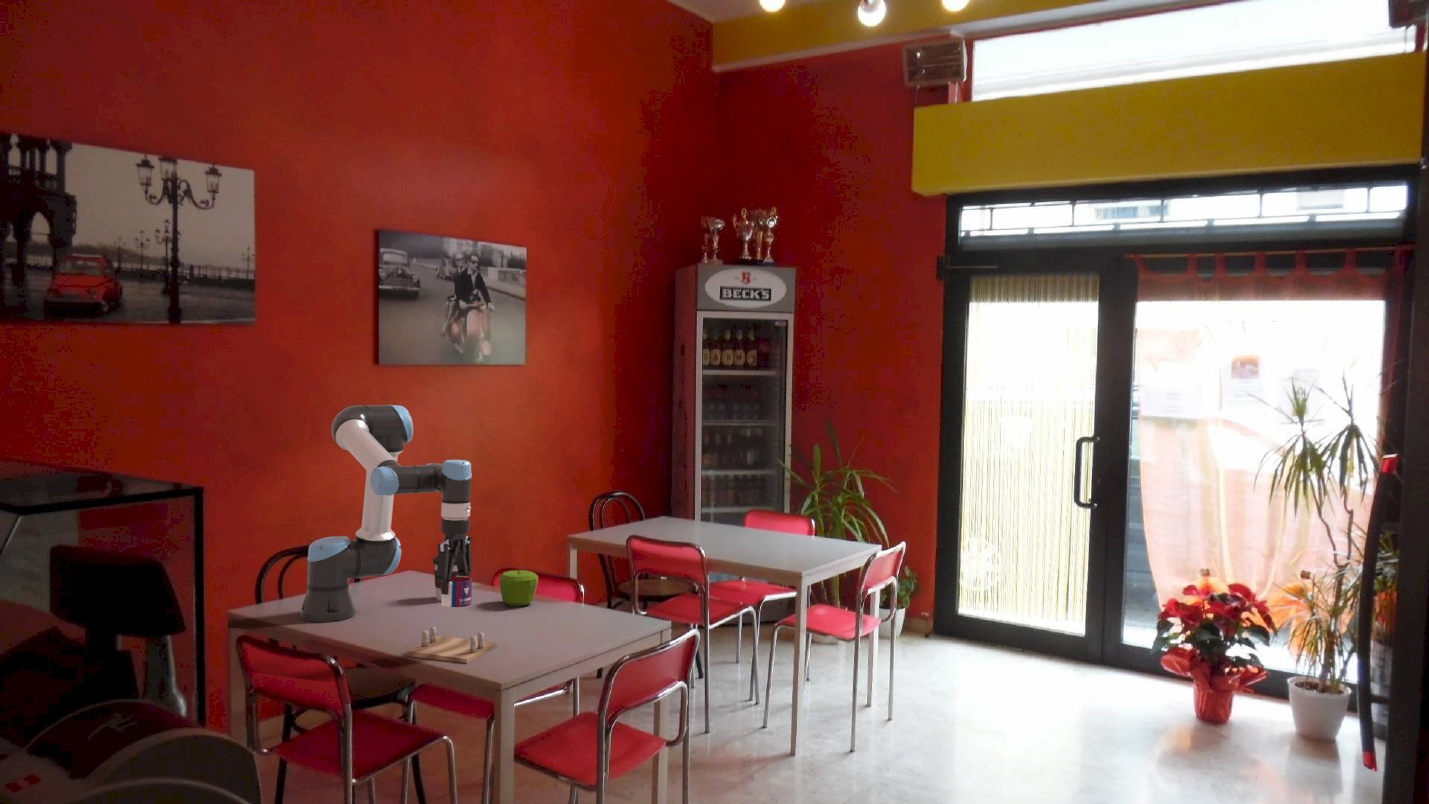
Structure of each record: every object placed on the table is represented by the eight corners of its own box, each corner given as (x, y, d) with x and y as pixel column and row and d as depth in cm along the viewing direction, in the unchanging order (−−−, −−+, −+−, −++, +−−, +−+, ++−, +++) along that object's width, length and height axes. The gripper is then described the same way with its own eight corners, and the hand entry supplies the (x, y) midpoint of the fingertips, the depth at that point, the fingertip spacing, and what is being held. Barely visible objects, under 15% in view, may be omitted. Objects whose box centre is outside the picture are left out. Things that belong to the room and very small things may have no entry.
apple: (543, 606, 316) (544, 571, 315) (507, 610, 309) (508, 574, 309) (527, 598, 326) (528, 564, 326) (493, 601, 319) (493, 567, 319)
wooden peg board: (406, 655, 258) (406, 636, 258) (438, 640, 274) (439, 621, 273) (467, 663, 253) (467, 643, 253) (496, 647, 269) (497, 628, 268)
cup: (455, 608, 258) (456, 583, 258) (433, 602, 264) (433, 577, 264) (476, 604, 263) (477, 579, 263) (454, 598, 269) (454, 573, 269)
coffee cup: (469, 598, 323) (470, 553, 322) (446, 604, 314) (447, 557, 314) (448, 593, 328) (449, 549, 327) (425, 599, 320) (426, 553, 319)
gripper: (448, 524, 252) (446, 612, 252) (486, 514, 271) (484, 596, 271) (423, 522, 254) (421, 609, 254) (462, 512, 273) (460, 593, 273)
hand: (453, 602), depth 263 cm, fingers closed on cup, 7 cm apart
